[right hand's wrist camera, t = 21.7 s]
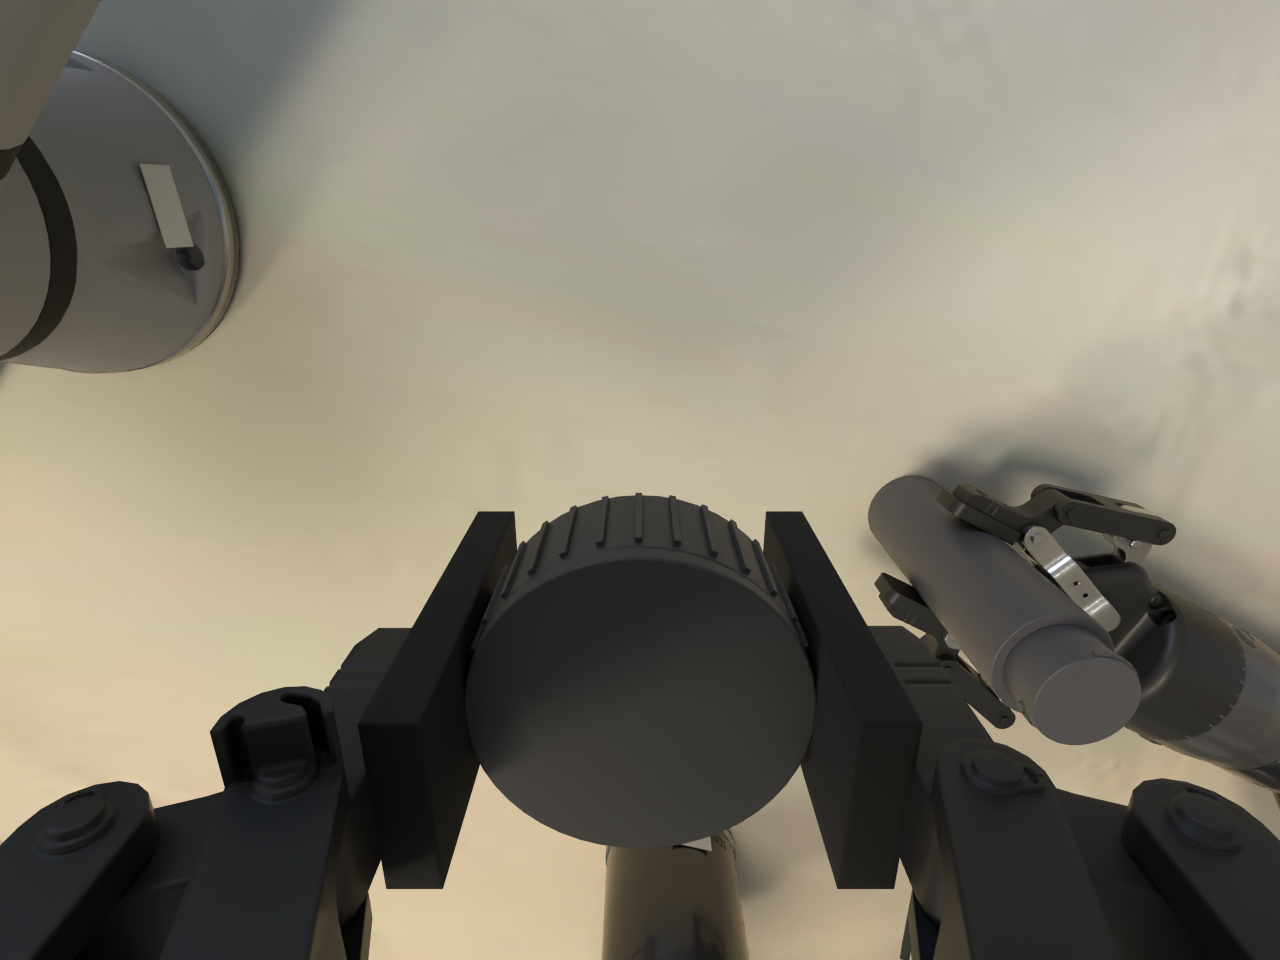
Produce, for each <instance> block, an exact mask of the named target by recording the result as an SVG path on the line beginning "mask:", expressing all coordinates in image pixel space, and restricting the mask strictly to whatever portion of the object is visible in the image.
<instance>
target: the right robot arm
mask: <svg viewBox="0 0 1280 960" xmlns="http://www.w3.org/2000/svg"><path fill="white" fill-rule="evenodd" d="M99 2H100V0H0V361H1V362H8V363H16V364H23V365H30V366H39V367H47V368H56V369H63V370H68V371H73V372H82V373H115V372H125V371H133V370H138V369H143V368H146V367H150V366H153V365H157V364H160V363H163V362H167V361H170V360H172V359H174V358H177V357H179V356H181V355H183V354H184V353H186V352H188V351H189V350H191V349H193V348H194V347H195V346H197V345H198V344H199V343H200V342H202V341H203V340H204V339H205V338H206V337H207V336H208V335H209V334H210V333H211V332H212V330H213V329H214V328H215V327H216V325H217V324H218V323H219V321H220V319H221V318H222V316H223V315H224V313H225V311H226V309H227V307H228V305H229V302H230V300H231V297H232V294H233V291H234V288H235V284H236V279H237V274H238V265H239V237H238V228H237V222H236V217H235V212H234V209H233V205H232V201H231V198H230V195H229V192H228V190H227V187H226V184H225V182H224V180H223V177H222V175H221V173H220V171H219V169H218V167H217V165H216V163H215V161H214V160H213V158H212V156H211V154H210V152H209V151H208V149H207V148H206V146H205V145H204V143H203V142H202V140H201V139H200V137H199V136H198V135H197V133H196V132H195V131H194V130H193V128H192V127H191V126H190V125H189V123H188V122H187V121H186V120H185V119H184V118H183V117H182V116H181V115H180V113H179V112H178V111H177V110H176V109H175V108H174V107H173V106H172V105H171V104H169V103H168V102H167V101H166V100H165V99H164V98H163V97H162V96H161V95H159V94H158V93H157V92H156V91H154V90H153V89H152V88H150V87H149V86H148V85H147V84H145V83H143V82H142V81H140V80H139V79H137V78H136V77H134V76H133V75H131V74H129V73H128V72H126V71H124V70H122V69H120V68H118V67H117V66H114V65H112V64H110V63H108V62H105V61H103V60H101V59H98V58H95V57H92V56H89V55H86V54H83V53H79V52H76V51H73V50H74V49H75V47H76V45H77V43H78V41H79V39H80V37H81V36H82V34H83V32H84V30H85V28H86V26H87V25H88V23H89V21H90V19H91V17H92V15H93V13H94V12H95V10H96V8H97V6H98V4H99ZM516 553H517V543H516V528H515V514H514V512H478V513H477V515H476V517H475V518H474V520H473V522H472V524H471V525H470V527H469V529H468V531H467V532H466V534H465V536H464V538H463V539H462V541H461V543H460V545H459V546H458V548H457V550H456V552H455V553H454V555H453V557H452V559H451V560H450V562H449V564H448V566H447V567H446V569H445V571H444V573H443V574H442V576H441V578H440V580H439V581H438V583H437V585H436V587H435V588H434V590H433V592H432V594H431V595H430V597H429V599H428V601H427V602H426V604H425V606H424V608H423V609H422V611H421V613H420V615H419V616H418V618H417V620H416V622H415V623H414V625H413V627H412V628H378V629H377V630H375V631H374V632H373V633H371V634H370V635H368V636H367V637H366V638H364V639H363V640H362V641H360V642H359V643H357V644H356V645H355V646H354V647H353V649H352V650H351V652H350V653H349V655H348V656H347V658H346V659H345V661H344V662H343V663H342V665H341V669H338V671H337V672H336V674H335V675H334V677H333V678H332V680H331V681H330V685H329V687H326V688H325V690H324V691H322V690H318V689H314V688H310V687H306V686H301V687H283V688H279V689H275V690H271V691H268V692H264V693H260V694H258V695H256V696H254V697H252V698H250V699H247V700H245V701H243V702H241V703H239V704H238V705H236V706H235V707H234V708H232V709H231V710H229V711H228V712H227V713H225V714H224V715H223V716H221V717H220V719H219V720H218V721H217V723H216V724H215V725H214V727H213V728H212V729H211V731H210V734H211V738H212V742H213V745H214V749H215V753H216V756H217V760H218V764H219V768H220V771H221V775H222V779H223V782H224V786H225V789H224V791H223V792H219V793H216V794H213V795H210V796H206V797H202V798H198V799H194V800H189V801H185V802H181V803H176V804H172V805H168V806H164V807H159V808H155V809H153V806H152V803H151V800H150V797H149V794H148V792H147V791H146V790H144V789H143V788H142V787H141V786H140V785H139V784H135V783H128V782H122V781H117V782H110V783H104V784H97V785H93V786H90V787H87V788H85V789H82V790H79V791H76V792H73V793H71V794H68V795H66V796H64V797H62V798H60V799H59V800H57V801H55V802H53V803H51V804H50V805H48V806H46V807H44V808H42V809H41V810H39V811H38V812H37V813H36V814H34V815H33V816H32V817H31V818H29V819H28V820H27V821H26V822H25V823H23V824H22V825H21V826H20V827H18V828H17V829H16V830H15V831H14V832H13V833H12V834H11V835H10V836H9V837H8V838H7V839H6V840H5V841H4V842H3V843H2V844H1V845H0V960H368V957H369V946H370V936H371V926H372V912H371V905H370V899H369V894H368V890H369V888H370V885H371V883H372V880H373V878H374V875H375V873H376V870H377V868H378V866H379V863H380V861H382V867H383V872H384V878H385V884H386V889H443V886H444V883H445V880H446V876H447V873H448V870H449V866H450V863H451V860H452V856H453V853H454V850H455V846H456V843H457V840H458V836H459V833H460V830H461V826H462V823H463V820H464V816H465V813H466V809H467V806H468V803H469V799H470V796H471V793H472V789H473V786H474V783H475V779H476V776H477V773H478V769H479V766H480V762H479V760H478V759H477V757H476V755H475V753H474V750H473V747H472V744H471V742H470V739H469V736H468V731H467V723H466V714H465V704H464V690H465V682H466V676H467V673H468V669H469V666H470V662H471V659H472V656H473V654H470V653H469V652H470V648H471V646H472V643H473V641H474V638H475V636H476V633H477V631H478V629H479V626H480V624H481V621H482V619H483V616H484V614H485V611H486V609H487V606H488V604H489V601H490V599H491V596H492V594H493V591H494V589H495V587H496V584H497V582H498V579H499V577H500V574H501V572H502V569H503V568H504V566H505V565H507V566H510V564H511V563H512V561H513V560H514V558H515V555H516ZM763 554H764V556H765V557H766V559H767V560H768V562H769V563H770V564H772V563H775V565H776V567H777V569H778V571H779V574H780V576H781V579H782V581H783V584H784V586H785V589H786V590H787V592H788V595H789V597H790V600H791V602H792V605H793V607H794V609H795V612H796V614H797V617H798V619H799V622H800V624H801V627H802V629H803V632H804V634H805V637H806V639H807V642H808V644H809V647H810V651H808V652H806V653H807V655H808V658H809V661H810V664H811V668H812V671H813V674H814V679H815V686H816V693H817V697H816V709H815V719H814V727H813V734H812V737H811V740H810V743H809V746H808V749H807V752H806V754H805V756H804V758H803V759H802V761H801V763H800V765H801V768H802V771H803V775H804V778H805V781H806V785H807V788H808V791H809V795H810V798H811V801H812V805H813V808H814V811H815V815H816V818H817V821H818V825H819V828H820V832H821V835H822V838H823V842H824V845H825V848H826V852H827V855H828V858H829V862H830V865H831V868H832V872H833V875H834V878H835V882H836V885H837V888H838V889H894V886H895V880H896V875H897V869H898V863H899V858H900V859H901V861H902V864H903V866H904V868H905V871H906V873H907V876H908V878H909V881H910V883H911V885H912V888H913V889H912V894H911V899H910V904H909V910H908V915H907V920H906V925H905V931H904V936H903V941H902V948H901V955H900V959H902V960H909V958H910V953H911V955H912V960H1280V840H1279V839H1278V838H1277V837H1276V836H1275V835H1274V834H1273V833H1271V832H1270V831H1269V830H1268V829H1267V828H1266V827H1265V826H1264V825H1263V824H1262V823H1261V822H1260V821H1258V820H1257V819H1256V818H1255V817H1253V816H1252V815H1251V814H1250V813H1248V812H1247V811H1246V810H1245V809H1243V808H1242V807H1241V806H1239V805H1237V804H1235V803H1234V802H1232V801H1230V800H1228V799H1226V798H1225V797H1223V796H1221V795H1219V794H1217V793H1215V792H1213V791H1211V790H1208V789H1205V788H1202V787H1199V786H1196V785H1194V784H1191V783H1188V782H1183V781H1176V780H1170V779H1163V778H1162V779H1155V780H1148V781H1143V782H1142V783H1141V784H1140V785H1138V786H1137V787H1136V788H1135V789H1134V790H1133V792H1132V795H1131V799H1130V802H1129V805H1128V806H1125V805H1120V804H1116V803H1112V802H1107V801H1103V800H1099V799H1095V798H1090V797H1086V796H1082V795H1077V794H1074V793H1070V792H1067V791H1064V790H1060V789H1057V788H1055V786H1054V784H1053V783H1052V781H1051V780H1050V778H1049V776H1048V775H1047V773H1046V772H1045V771H1044V770H1043V769H1042V768H1041V767H1040V766H1038V765H1037V764H1036V763H1035V762H1034V761H1033V760H1031V759H1030V758H1029V757H1028V756H1026V755H1024V754H1022V753H1020V752H1018V751H1016V750H1014V749H1012V748H1011V747H1009V746H1007V745H1003V744H1000V743H996V742H994V741H993V740H992V738H991V737H990V735H989V734H988V733H987V731H986V730H985V728H984V727H983V725H982V724H981V722H980V721H979V720H978V718H977V717H976V715H975V714H974V712H973V711H972V709H971V708H970V706H969V705H968V704H967V702H966V701H965V699H964V698H963V696H962V695H961V693H960V692H959V690H958V689H957V688H956V686H955V685H954V684H952V683H951V679H950V677H949V676H948V675H947V673H946V672H945V670H944V669H943V667H940V663H939V661H938V660H937V659H936V657H935V656H934V654H933V653H932V651H931V650H930V648H929V647H928V645H927V644H926V643H925V642H924V641H922V640H921V639H919V638H918V637H917V636H915V635H914V634H912V633H911V632H910V631H908V630H907V629H905V628H904V627H903V626H867V624H866V623H865V621H864V619H863V617H862V616H861V614H860V612H859V610H858V609H857V607H856V605H855V603H854V602H853V600H852V598H851V596H850V595H849V593H848V591H847V589H846V588H845V586H844V584H843V582H842V581H841V579H840V577H839V575H838V574H837V572H836V570H835V568H834V567H833V565H832V563H831V561H830V560H829V558H828V556H827V554H826V553H825V551H824V549H823V547H822V546H821V544H820V542H819V540H818V539H817V537H816V535H815V533H814V532H813V530H812V528H811V526H810V525H809V523H808V521H807V519H806V518H805V516H804V514H803V512H766V520H765V534H764V549H763Z"/></svg>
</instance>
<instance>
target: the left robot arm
mask: <svg viewBox="0 0 1280 960" xmlns="http://www.w3.org/2000/svg"><path fill="white" fill-rule="evenodd" d="M935 499H936V500H937V501H938V502H939V503H940V504H941V505H942V506H943V507H944V508H945V509H947V510H948V511H949V512H951V513H952V514H954V515H955V516H957V517H959V518H961V519H963V520H965V521H967V522H969V523H971V524H973V525H974V526H976V527H978V528H980V529H982V530H984V531H986V532H988V533H990V534H992V535H994V536H996V537H998V538H1000V539H1001V540H1003V541H1005V542H1007V543H1009V544H1011V545H1014V543H1016V544H1017V545H1018V548H1019V550H1020V551H1021V552H1022V553H1023V554H1024V556H1025V557H1026V558H1027V559H1028V560H1029V562H1030V563H1031V564H1032V565H1033V567H1034V568H1035V569H1036V570H1038V571H1039V572H1040V573H1041V574H1042V575H1043V576H1045V577H1046V578H1047V579H1048V580H1049V581H1050V582H1052V583H1053V584H1054V585H1055V586H1056V587H1057V588H1059V589H1060V590H1061V591H1062V592H1063V593H1064V594H1066V595H1067V596H1068V597H1069V598H1070V599H1071V600H1072V601H1074V602H1075V603H1076V604H1077V605H1078V606H1079V607H1081V608H1082V609H1083V610H1084V611H1085V612H1086V613H1088V614H1089V615H1090V616H1091V617H1092V618H1093V619H1095V620H1096V621H1097V622H1098V623H1099V624H1100V625H1102V626H1103V627H1104V628H1105V630H1106V631H1107V632H1108V634H1109V635H1110V637H1111V640H1112V642H1113V646H1114V653H1115V654H1116V655H1120V656H1122V657H1123V658H1124V659H1126V660H1127V661H1129V662H1130V663H1131V664H1132V666H1133V667H1134V669H1135V670H1136V671H1137V673H1138V674H1137V675H1138V678H1139V682H1140V685H1141V699H1140V703H1139V706H1138V708H1137V710H1136V712H1135V713H1134V715H1133V716H1132V718H1131V719H1130V720H1129V721H1128V723H1127V724H1125V725H1124V727H1126V728H1128V729H1130V730H1132V731H1134V732H1136V733H1138V734H1139V735H1140V736H1141V737H1143V738H1145V739H1146V740H1148V741H1150V742H1152V743H1154V744H1158V745H1163V746H1165V747H1167V748H1170V749H1172V750H1174V751H1176V752H1179V753H1181V754H1184V755H1187V756H1190V757H1193V758H1196V759H1199V760H1203V761H1206V762H1209V763H1211V764H1213V765H1215V766H1218V767H1220V768H1222V769H1224V770H1226V771H1228V772H1230V773H1232V774H1234V775H1236V776H1238V777H1240V778H1243V779H1245V780H1247V781H1249V782H1251V783H1254V784H1256V785H1258V786H1261V787H1263V788H1266V789H1269V790H1271V791H1272V792H1273V795H1274V797H1275V800H1276V803H1277V805H1278V807H1279V810H1280V655H1279V654H1277V653H1276V652H1275V651H1273V650H1272V649H1271V648H1269V647H1268V646H1267V645H1266V644H1264V643H1263V642H1262V641H1260V640H1259V639H1257V638H1256V637H1254V636H1252V635H1251V634H1249V633H1247V632H1246V631H1244V630H1243V629H1241V628H1239V627H1236V626H1235V625H1233V624H1231V623H1229V622H1227V621H1225V620H1223V619H1221V618H1219V617H1217V616H1215V615H1213V614H1212V613H1210V612H1208V611H1206V610H1204V609H1202V608H1201V607H1199V606H1197V605H1195V604H1193V603H1191V602H1189V601H1187V600H1185V599H1183V598H1182V597H1180V596H1178V595H1176V594H1174V593H1172V592H1170V591H1168V590H1166V589H1164V588H1163V587H1161V586H1159V585H1157V584H1155V583H1153V582H1151V581H1150V579H1149V576H1148V574H1147V572H1146V571H1145V570H1144V569H1143V568H1142V567H1141V566H1142V564H1143V562H1144V560H1145V558H1146V556H1147V554H1148V553H1149V551H1150V549H1151V547H1152V545H1153V544H1155V545H1164V544H1167V543H1169V542H1170V541H1171V540H1172V539H1173V538H1174V536H1175V534H1176V528H1175V526H1174V525H1173V524H1171V523H1170V522H1168V521H1166V520H1164V519H1162V518H1161V517H1159V516H1157V515H1156V514H1154V513H1152V512H1150V511H1148V510H1146V509H1144V508H1143V507H1141V506H1139V505H1137V504H1135V503H1130V502H1126V501H1121V500H1117V499H1112V498H1108V497H1103V496H1099V495H1094V494H1090V493H1085V492H1081V491H1076V490H1072V489H1067V488H1063V487H1058V486H1054V485H1049V484H1042V485H1039V486H1037V487H1036V488H1035V489H1034V490H1033V492H1032V494H1031V500H1029V501H1028V502H1026V503H1025V504H1023V505H1021V506H1018V507H1011V506H1008V505H1006V504H1004V503H1002V502H1000V501H998V500H996V499H994V498H993V497H991V496H989V495H987V494H985V493H983V492H981V491H979V490H977V489H976V488H974V487H972V486H970V485H960V484H959V485H958V487H957V488H956V489H955V491H954V492H953V491H951V490H949V489H947V488H945V487H943V488H942V489H941V491H940V492H939V493H938V495H937V496H936V498H935ZM1063 524H1064V525H1068V526H1073V527H1077V528H1082V529H1087V530H1091V531H1096V532H1100V533H1102V535H1103V537H1104V539H1106V540H1107V541H1109V542H1110V543H1112V544H1113V545H1114V553H1105V554H1097V555H1090V556H1082V557H1075V558H1071V557H1069V556H1068V555H1067V554H1066V553H1065V551H1064V550H1063V549H1062V548H1061V546H1060V545H1059V544H1058V543H1057V542H1056V540H1055V539H1054V538H1053V537H1052V535H1051V534H1050V533H1052V532H1053V531H1055V530H1056V529H1057V528H1059V527H1060V526H1062V525H1063ZM874 584H875V586H876V587H877V589H878V590H879V592H880V595H879V598H880V599H881V601H882V602H883V604H884V605H885V607H886V608H887V610H888V611H889V612H890V613H891V615H892V616H893V617H895V618H897V619H899V620H901V621H903V622H905V623H907V624H910V625H911V626H913V627H915V628H918V629H920V630H922V631H924V632H926V635H924V636H923V637H921V638H920V639H921V640H922V641H924V642H925V643H926V644H927V645H928V647H929V648H930V650H931V651H932V653H933V654H934V656H935V657H936V659H937V660H938V661H939V663H940V667H943V669H944V670H945V672H946V673H947V675H948V676H949V677H950V679H951V683H952V684H954V685H955V686H956V688H957V689H958V690H959V692H960V693H961V695H962V696H963V698H964V699H965V701H966V702H967V703H968V704H969V705H971V706H972V707H973V708H974V709H975V710H976V711H978V712H979V713H980V714H981V715H982V716H983V717H985V718H986V719H987V720H988V721H989V722H990V723H991V724H993V725H994V726H995V727H996V728H999V729H1005V728H1008V727H1010V726H1011V725H1013V723H1014V722H1015V715H1014V713H1013V712H1012V711H1011V708H1010V707H1008V706H1006V705H1005V704H1004V703H1003V702H1002V701H1001V700H1000V699H999V698H998V697H997V696H996V694H995V693H994V692H993V690H992V689H991V688H990V686H989V685H988V684H987V682H986V681H985V680H984V679H983V677H982V676H981V675H980V673H978V672H976V671H975V670H974V669H973V668H972V667H971V666H970V665H969V664H967V663H966V662H965V661H964V660H963V659H962V658H961V657H960V656H958V653H959V650H961V648H960V647H959V646H958V644H957V643H956V642H955V641H954V639H953V638H952V637H951V635H950V634H949V633H948V631H947V630H946V629H945V627H944V626H943V625H942V624H941V622H940V621H939V620H938V618H937V617H936V616H935V614H934V613H933V612H932V610H931V609H930V608H929V607H928V605H927V604H926V603H925V601H924V600H923V599H922V597H921V596H920V595H919V593H918V592H917V591H916V590H915V588H914V587H913V586H911V585H908V584H906V583H904V582H902V581H900V580H898V579H896V578H894V577H892V576H890V575H888V574H886V573H881V575H880V576H879V578H878V579H877V580H876V582H875V583H874ZM606 867H607V874H606V888H605V908H604V927H603V947H602V960H750V959H749V952H748V946H747V939H746V932H745V926H744V919H743V913H742V906H741V899H740V892H739V886H738V880H737V873H736V867H735V850H734V844H733V840H732V837H731V834H730V832H729V831H728V829H727V830H725V831H723V832H720V833H717V834H715V835H712V836H709V837H707V838H704V839H700V840H696V841H692V842H689V843H685V844H679V845H673V846H666V847H655V848H624V847H615V846H608V845H607V848H606Z"/></svg>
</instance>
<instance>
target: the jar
mask: <svg viewBox="0 0 1280 960" xmlns="http://www.w3.org/2000/svg"><path fill="white" fill-rule="evenodd" d="M941 489H942V488H941V487H940V486H939V485H938V484H936V483H935V482H933V481H932V480H930V479H927V478H924V477H919V476H907V477H902V478H899V479H896V480H894V481H892V482H890V483H888V484H887V485H886V486H884V487H883V488H882V489H881V490H880V491H879V492H878V493H877V494H876V496H875V497H874V499H873V501H872V503H871V505H870V509H869V514H868V520H869V526H870V529H871V531H872V533H873V534H874V536H875V537H876V539H877V540H878V541H879V542H880V544H881V545H882V546H883V548H884V549H885V550H886V552H887V553H888V554H889V556H890V557H891V558H892V559H893V561H894V562H895V563H896V565H897V566H898V567H899V569H900V570H901V571H902V573H903V574H904V575H905V576H906V578H907V579H908V580H909V582H910V583H911V584H912V586H913V587H914V588H915V590H916V591H917V592H918V593H919V595H920V596H921V597H922V599H923V600H924V601H925V603H926V604H927V605H928V607H929V608H930V609H931V610H932V612H933V613H934V614H935V616H936V617H937V618H938V620H939V621H940V622H941V624H942V625H943V626H944V627H945V629H946V630H947V631H948V633H949V634H950V635H951V637H952V638H953V639H954V641H955V642H956V643H957V644H958V646H959V647H960V648H961V650H962V651H963V652H964V654H965V655H966V656H967V658H968V659H969V660H970V661H971V663H972V664H973V665H974V667H975V668H976V669H977V671H978V672H979V673H980V675H981V676H982V677H983V679H984V680H985V681H986V682H987V684H988V685H989V686H990V688H991V689H992V690H993V692H994V693H995V694H996V696H997V697H998V698H999V699H1000V700H1001V701H1002V702H1003V703H1004V704H1005V705H1006V706H1008V707H1010V708H1011V709H1013V710H1015V711H1018V712H1020V713H1022V714H1023V715H1024V717H1025V718H1026V719H1027V720H1028V722H1029V723H1030V724H1031V725H1033V726H1034V727H1036V728H1037V729H1038V730H1039V731H1040V732H1041V733H1042V734H1043V735H1045V736H1046V737H1047V738H1049V739H1051V740H1053V741H1055V742H1058V743H1062V744H1067V745H1084V744H1089V743H1093V742H1097V741H1100V740H1102V739H1105V738H1107V737H1109V736H1111V735H1112V734H1114V733H1116V732H1117V731H1118V730H1120V729H1121V728H1122V727H1123V726H1124V725H1125V724H1127V723H1128V721H1129V720H1130V719H1131V718H1132V716H1133V715H1134V713H1135V712H1136V710H1137V708H1138V706H1139V703H1140V699H1141V685H1140V682H1139V678H1138V675H1137V674H1138V673H1137V671H1136V670H1135V669H1134V667H1133V666H1132V664H1131V663H1130V662H1129V661H1127V660H1126V659H1124V658H1123V657H1122V656H1120V655H1116V654H1115V653H1114V646H1113V642H1112V640H1111V637H1110V635H1109V634H1108V632H1107V631H1106V630H1105V628H1104V627H1103V626H1102V625H1100V624H1099V623H1098V622H1097V621H1096V620H1095V619H1093V618H1092V617H1091V616H1090V615H1089V614H1088V613H1086V612H1085V611H1084V610H1083V609H1082V608H1081V607H1079V606H1078V605H1077V604H1076V603H1075V602H1074V601H1072V600H1071V599H1070V598H1069V597H1068V596H1067V595H1066V594H1064V593H1063V592H1062V591H1061V590H1060V589H1059V588H1057V587H1056V586H1055V585H1054V584H1053V583H1052V582H1050V581H1049V580H1048V579H1047V578H1046V577H1045V576H1043V575H1042V574H1041V573H1040V572H1039V571H1038V570H1036V569H1035V568H1034V567H1033V566H1032V565H1031V564H1029V563H1028V562H1027V561H1026V560H1025V559H1024V558H1022V557H1021V556H1020V555H1019V554H1018V553H1017V552H1015V551H1014V550H1013V549H1012V548H1011V547H1010V546H1009V545H1007V544H1006V543H1005V542H1004V541H1003V540H1001V539H1000V538H998V537H996V536H994V535H992V534H990V533H988V532H986V531H984V530H982V529H980V528H978V527H976V526H974V525H973V524H971V523H969V522H967V521H965V520H963V519H961V518H959V517H957V516H955V515H954V514H952V513H951V512H949V511H948V510H947V509H945V508H944V507H943V506H942V505H941V504H940V503H939V502H938V501H937V500H936V499H935V498H936V496H937V495H938V493H939V492H940V491H941Z"/></svg>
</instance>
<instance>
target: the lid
mask: <svg viewBox="0 0 1280 960" xmlns="http://www.w3.org/2000/svg"><path fill="white" fill-rule="evenodd" d="M808 651H810V647H809V644H808V642H807V639H806V637H805V634H804V632H803V629H802V627H801V624H800V622H799V619H798V617H797V614H796V612H795V609H794V607H793V605H792V602H791V600H790V597H789V595H788V592H787V590H786V589H785V586H784V584H783V581H782V579H781V576H780V574H779V571H778V569H777V567H776V565H775V563H772V564H770V563H769V562H768V560H767V559H766V557H765V556H764V554H763V552H762V549H761V546H760V544H759V542H758V541H757V540H756V539H755V540H754V541H752V540H751V539H750V538H749V537H748V536H747V535H746V534H745V533H743V532H742V531H741V530H740V529H738V527H737V524H736V522H735V521H733V520H732V519H731V520H730V521H727V520H726V519H724V518H722V517H721V516H719V515H718V514H716V513H713V512H711V511H709V510H708V507H707V506H705V505H703V504H702V505H701V507H700V506H698V505H694V504H691V503H688V502H685V501H681V500H677V499H676V497H675V496H669V498H666V497H660V496H644V495H642V493H636V495H635V496H621V497H614V498H608V496H605V497H602V500H599V501H595V502H592V503H589V504H586V505H583V506H580V507H578V508H577V507H576V505H575V506H573V507H571V508H570V511H569V512H567V513H565V514H563V515H561V516H559V517H558V518H556V519H555V520H553V521H552V522H550V523H549V522H548V521H546V522H544V523H543V524H542V527H541V530H540V531H538V532H537V533H536V534H535V535H534V536H533V537H531V538H530V539H529V541H528V542H527V543H525V542H524V541H522V542H521V544H520V545H519V548H518V550H517V553H516V555H515V558H514V560H513V561H512V563H511V564H510V566H507V565H505V566H504V568H503V569H502V572H501V574H500V577H499V579H498V582H497V584H496V587H495V589H494V591H493V594H492V596H491V599H490V601H489V604H488V606H487V609H486V611H485V614H484V616H483V619H482V621H481V624H480V626H479V629H478V631H477V633H476V636H475V638H474V641H473V643H472V646H471V648H470V652H469V653H470V654H473V656H472V659H471V662H470V666H469V669H468V673H467V676H466V682H465V690H464V704H465V714H466V723H467V731H468V736H469V739H470V742H471V744H472V747H473V750H474V753H475V755H476V757H477V759H478V760H479V762H480V764H481V766H482V768H483V770H484V771H485V773H486V774H487V775H488V777H489V778H490V779H491V781H492V782H493V783H494V785H495V786H496V787H497V788H498V789H499V790H500V791H501V792H502V793H503V794H504V795H505V797H506V798H507V799H508V800H509V801H511V802H512V803H513V804H514V805H516V806H517V807H518V808H519V809H521V810H522V811H523V812H524V813H526V814H527V815H529V816H531V817H532V818H534V819H535V820H537V821H538V822H540V823H542V824H544V825H546V826H548V827H550V828H552V829H554V830H556V831H558V832H560V833H563V834H566V835H569V836H571V837H574V838H577V839H580V840H584V841H588V842H592V843H596V844H601V845H608V846H615V847H624V848H655V847H666V846H673V845H679V844H685V843H689V842H692V841H696V840H700V839H704V838H707V837H709V836H712V835H715V834H717V833H720V832H723V831H725V830H727V829H729V828H731V827H733V826H735V825H737V824H739V823H741V822H742V821H744V820H745V819H747V818H748V817H750V816H751V815H753V814H755V813H756V812H758V811H759V810H760V809H761V808H763V807H764V806H765V805H766V804H767V803H769V802H770V801H771V800H772V799H773V798H774V797H775V796H776V795H777V794H778V793H779V792H780V791H781V790H782V789H783V788H784V787H785V785H786V784H787V783H788V782H789V780H790V779H791V777H792V776H793V775H794V773H795V772H796V770H797V769H798V767H799V765H800V763H801V761H802V759H803V758H804V756H805V754H806V752H807V749H808V746H809V743H810V740H811V737H812V734H813V727H814V719H815V709H816V697H817V693H816V686H815V679H814V674H813V671H812V668H811V664H810V661H809V658H808V655H807V653H806V652H808Z"/></svg>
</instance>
